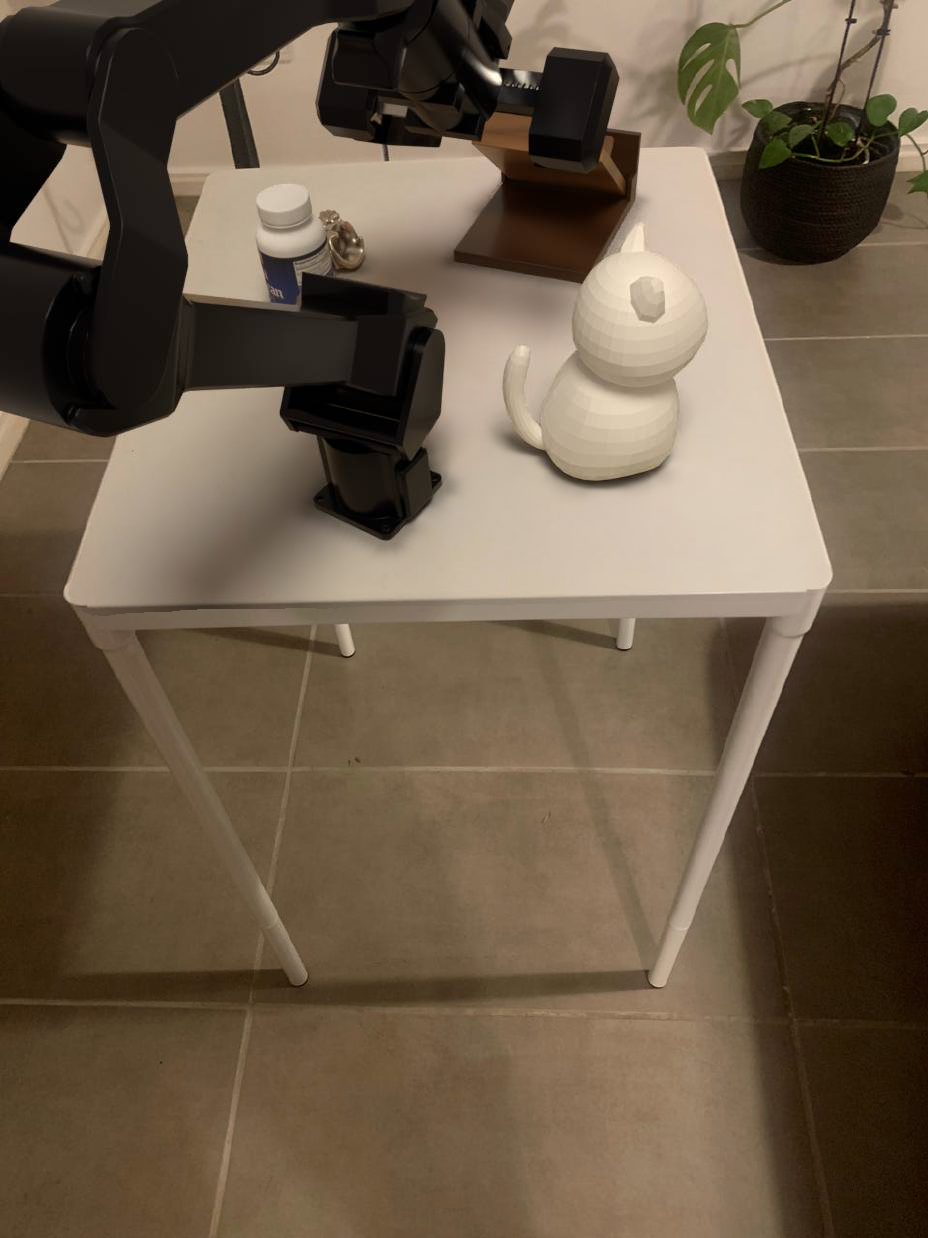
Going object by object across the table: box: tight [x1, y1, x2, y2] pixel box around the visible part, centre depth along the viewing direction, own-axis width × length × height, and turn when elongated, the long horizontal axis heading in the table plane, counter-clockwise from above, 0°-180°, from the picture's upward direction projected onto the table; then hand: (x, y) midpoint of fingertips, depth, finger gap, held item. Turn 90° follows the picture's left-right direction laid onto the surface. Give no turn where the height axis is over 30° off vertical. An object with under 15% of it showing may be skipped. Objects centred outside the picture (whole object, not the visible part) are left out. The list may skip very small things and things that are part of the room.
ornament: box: [318, 209, 365, 270], centre depth 80 cm, size 8×7×4 cm
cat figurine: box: [501, 221, 709, 481], centre depth 59 cm, size 9×12×15 cm
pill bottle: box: [254, 183, 335, 305], centre depth 73 cm, size 5×5×10 cm
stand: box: [453, 127, 642, 285], centre depth 80 cm, size 14×12×6 cm
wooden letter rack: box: [470, 112, 628, 196], centre depth 79 cm, size 11×11×3 cm
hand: (498, 148), depth 66 cm, fingers open, 9 cm apart
